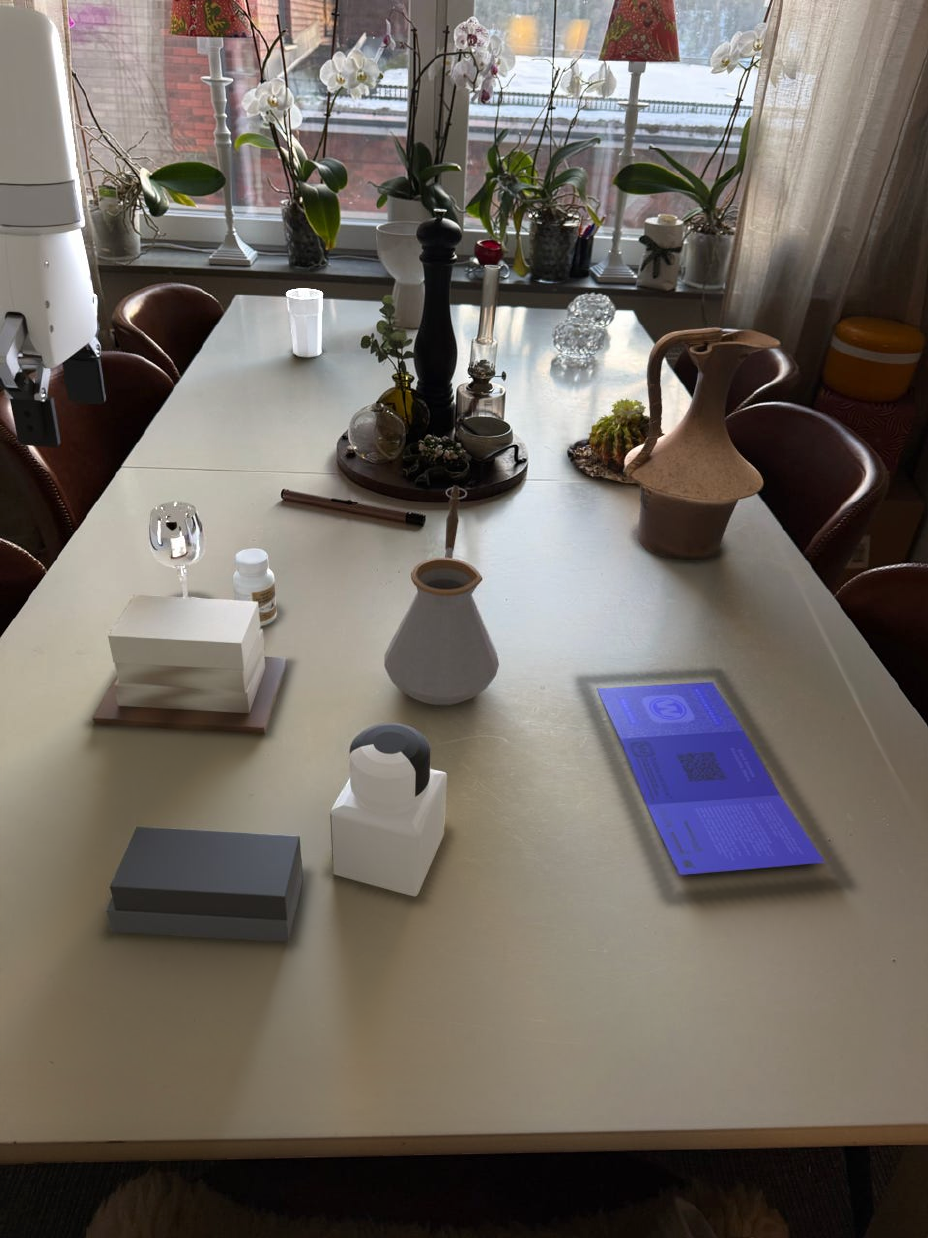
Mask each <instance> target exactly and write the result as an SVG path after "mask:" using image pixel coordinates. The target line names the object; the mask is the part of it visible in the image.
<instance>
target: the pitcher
mask: <svg viewBox="0 0 928 1238" xmlns="http://www.w3.org/2000/svg"><path fill="white" fill-rule="evenodd" d="M679 346H684V347H685V349H686V351H687V352H688V355H689V357H690V360H691V361H692V363H693V364H694V366H696V367H697V369H698V371H697V372H698V373H697V380H696V384H695V388H694V392H693V395H692V398H691V401H690V404H689V406H688V409H687V411H686V413H685V415H684V416H683V418H682V419H681V420H680V422H679V423H678V424H677V425H676V426H675V427H674V428H673V429H671V430H670V431H669V432H667V433H665V435H664V436H662V437H660V438H658V437H659V433H660V429H662V419H663V416H662V415H663V398H662V395H663V394H662V386H661V385H662V384H661V382H662V381H661V380H662V379H661V378H662V367H663V361H664V359H665V357H666V355H667V354H668V353H669V352H670V351H671V350H672V349H675V348H676V347H679ZM780 348H781V341H780V340H779V339H777V338H775V337H772V336H771V335H768V334H766V333H762V332H759V331H756V330H752V329H740V330H735V331H732V332H727V333H724V334H723V328H721V327H707V328H695V329H684V330H677V331H672V332H669V333H667V334H665V335H663V336H662V337H661V338H659V340H657V342H655V344H654V345H653V346H652V349H651V351H650V353H649V355H648V360H647V366H646V386H647V396H648V404H649V405H648V409H649V417H650V424H649V432H648V437H647V439H646V441H645V444H643V445H640V446H638V447H636V448H634V449H632V450H631V451H630V452H629V453H628V454H627V456H626V457H625V460H624V466H625V468H624V470H623V472H624V474H625V476H626V477H628V478H629V479H631V480H633V481H635V482H636V483H635V484H638V486H639V516H638V517H639V518H638V525H637V526H638V527H637V533H636V535H637V539H638V541H639V543H640V544H641V545H642V546H643V547H644V548H645V549H646V550H648V551H649V552H651V553H653V554H655V555H658V556H661V557H662V558H663V557H664V558H666V559H670V560H677V561H686V562H695V561H702V560H703V561H704V560H708V559H710V558H713V557H714V556H716V555H717V554H718V553H719V551H720V549H721V545H722V541H723V538H724V536H725V533H726V529H727V527H728V524H729V522H730V519H731V516H732V514H733V512H734V510H735V508H736V506H737V504H738V502H739V500H745V499H747V498H750V497H753V496H755V495H757V494H758V493H760V492H761V491H762V489H763V487H764V480H763V477H762V475H761V473H760V472H759V470H757V469H756V468H755V467H754V466H753V464H751V463H750V462H748V460H747V459H745V458H744V457H743V455H742V454H741V453H740V452H739V450H737V448H736V447H735V446H734V443H733V442H732V440H731V438H730V435H729V432H728V429H727V423H726V405H727V400H728V394H729V390H730V387H731V385H732V382H733V379H734V376H735V375H736V373H737V371H738V369H739V367H740V366H741V364H742V363H743V362H744V361H746V360H747V358H749V357H750V356H752V355H753V353H758V352H759V351H764V350H774V349H780Z"/></svg>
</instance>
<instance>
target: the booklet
mask: <svg viewBox="0 0 928 1238" xmlns="http://www.w3.org/2000/svg"><path fill="white" fill-rule="evenodd" d="M596 690H597V692H598V694H599V697H600V699H601V701H602V703H603V706H604V707H605V710H606V712H607V715H608V716H609V719H610V720H611V722H612V724H613V727H614V730H615V731H616V734H617V736H618V738H619V740H620V742H621V745H622V748H623V750H624V753H625V755H626V757H627V760H628V762H629V765H630V767H631V770H632V773H633V775H634V777H635V780H636V782H637V783H636V784H637V786H638V788H639V790H640V793H641V795H642V798H643V800H644V802H645V803H644V804H645V805H646V807H647V809H648V812H649V814H650V816H651V818H652V821H653V822H654V825H655V826H656V828H657V830H658V832H659V834H660V837H661V840H662V841H663V843H664V845H665V847H666V849H667V852H668V854H669V857H670V858H671V860H672V862H673V864H674V866H675V869H676V871H677V873H678V875H679V876H684V875H695V874H696V875H697V874H708V873H709V874H710V873H721V872H731V871H742V870H743V871H744V870H755V869H756V870H757V869H766V868H778V867H779V868H780V867H789V866H790V867H791V866H799V865H800V866H801V865H812V864H822V863H823V864H824V863H825V864H826V862H825V860H824V858H823V857H822V856H821V854H820V852H819V851H818V850H817V848H816V846H815V845H814V844H813V842H812V841H811V839H810V837H809V836H808V835H807V833H806V831H805V830H804V828H803V827H802V825H801V824H800V822H799V821H798V820H797V818H796V817H795V815H794V814H793V812H792V811H791V809H790V808H789V806H788V805H787V803H786V801H785V800H784V798H783V797H782V796H781V794H780V792H779V791H778V789H777V787H776V785H775V783H774V782H773V780H772V778H771V776H770V774H769V773H768V771H767V769H766V767H765V765H764V763H763V762H762V760H761V758H760V756H759V754H758V753H757V751H756V748H755V747H754V745H753V744H752V742H751V740H750V738H749V737H748V735H747V733H746V731H745V730H744V729H743V727H742V725H741V724H740V722H739V720H738V719H737V717H736V716H735V714H734V713H733V711H732V710H731V708H730V707H729V705H728V703H727V702H726V701H725V699H724V698H723V696H722V694H721V692H720V691H719V690H718V688H717V687H716V685H715V683H714V682H713V681H711V682H710V681H707V682H689V683H688V682H687V683H673V684H653V685H651V684H650V685H635V686H618V687H617V686H616V687H602V688H601V687H600V688H599V687H598V688H596Z"/></svg>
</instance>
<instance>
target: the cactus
mask: <svg viewBox="0 0 928 1238" xmlns="http://www.w3.org/2000/svg"><path fill="white" fill-rule="evenodd" d="M611 407H612V408H613V409H611V410H610V412H611V413H612V414H609V415H607V414H606V415H605V414H604V413H603V416H604V417H603V416H598V418H599V420H596V423H595V424H593V425H591V428H590V429H591V431H590V432H588V435H589V437H588V438H587V439H582V440H578V441H576V442H575V443H574V444H570V445H569V447H568V448H567V450H566V454H567V457H568V460H570V463H572V465H576V467H577V469H579V470H580V471H581V472H583V473H584V474H585V475H589V476H592V477H602V478H603V479H609V480H612V481H616V482H620V483H624V484H637V483H636V482H635V481H633V480H631V479H629V478H628V477H626V476H625V474H624V472H623V470H624V468H625V466H624V460H625V457H626V456H627V454H628V453H629V452H630V451H631V450H632V449H634V448H636V447H638V446H640V445H643V444H645V441H646V439H647V437H648V432H649V424H650V415H644V413H645V410H646V408H647V407H646V406H644V404H643V402H642V401H639V400H638V399H635V400H630V399H628V398H627V397H625V398H624V399H623V398H621V399H620V400H616V402H615V403H614V404H611ZM663 431H664V429H663V428H661V429H660V433H659V437H658V438H660V437H662V436H664V435H666V433H663Z"/></svg>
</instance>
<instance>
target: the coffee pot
mask: <svg viewBox="0 0 928 1238" xmlns="http://www.w3.org/2000/svg"><path fill="white" fill-rule="evenodd" d="M448 491H451V492H450V495H449V494H448ZM460 491H462V492H464V493H465V494H464V495H463V496H461V497H460ZM445 495H446V496H447V498H450V499H449V500H448V502H447V503H448V506H449V509H448V513H447V517H446V520H445V542H444V545H445V546H444V550H445V552H444V557H435V558H429V559H427V560H423V561H421V562H419V563H417V564H416V565H415V566H414V567H413V569H412V570H411V572H410V579H411V582H412V583H413V585H414V586H415V587H416V590H417V592H416V593H415V596H414V597H413V598H412V601H411V602H410V605H409V606H408V609H407V610H406V612H405V614H404V616H403V618H402V620H401V621H400V624H399V625H398V627H397V629H396V631H395V633H394V635H393V637H392V638H391V640H390V642H389V644H388V646H387V649H386V651H385V653H384V658H383V659H384V662H383V663H384V668H385V671H386V673H387V675H388V677H389V679H390V680H391V682H392V683H393V684H394V685H395V686H396V687H397V689H398V690H400V691H401V692H402V693H404V694H406V695H407V696H408V697H411V698H413V699H415V700H417V701H419V702H422V703H425V704H428V705H432V706H433V705H434V706H451V705H455V704H456V705H457V704H459V703H462V702H465V701H468V700H470V699H472V698H475V697H476V696H478V695H479V694H481V693H482V692H483V691H486V690H487V688H488V687H489V685H490V684H491V683H492V682H493V680H494V679H495V677H496V676H497V673H498V669H499V666H500V661H499V656H498V652H497V649H496V648H495V647H496V646H495V645H494V643H493V640H492V638H491V635H490V634H489V631H488V628H487V627H486V624H485V622H484V619H483V618H482V615H481V612H480V610H479V608H478V605H477V604H476V601H475V599H474V597H473V593H474V592H475V590H476V589H477V587H478V586H479V584H481V582H482V581H483V576H482V575H481V574H480V571H478V570H477V568H476V567H474V566H473V565H472V564H470V563H468V562H466V561H464V560H461V559H457V558H453V557H454V550H455V545H456V538H457V533H458V527H459V526H458V525H459V507H460V505H461V502H460V500H463V499H465V498H466V497H467V496H468V492H467V490H466V489H465V488H462V487H459V485H457V484H454V485H453V486H452V487H448V488H447V489H446V490H445Z"/></svg>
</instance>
